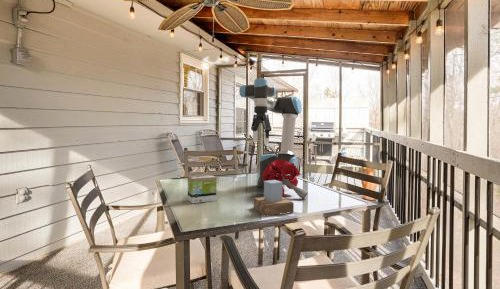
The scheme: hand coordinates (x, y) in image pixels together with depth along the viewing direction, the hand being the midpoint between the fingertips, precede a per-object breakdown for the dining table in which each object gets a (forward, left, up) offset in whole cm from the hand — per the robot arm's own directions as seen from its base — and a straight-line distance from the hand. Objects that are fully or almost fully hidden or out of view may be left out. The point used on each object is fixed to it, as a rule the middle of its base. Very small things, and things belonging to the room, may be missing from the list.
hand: (260, 142), depth 182 cm
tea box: (-18, -30, -35) cm, 49 cm away
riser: (+18, -2, -35) cm, 40 cm away
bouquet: (-3, +19, -35) cm, 40 cm away
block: (+18, -2, -29) cm, 34 cm away
